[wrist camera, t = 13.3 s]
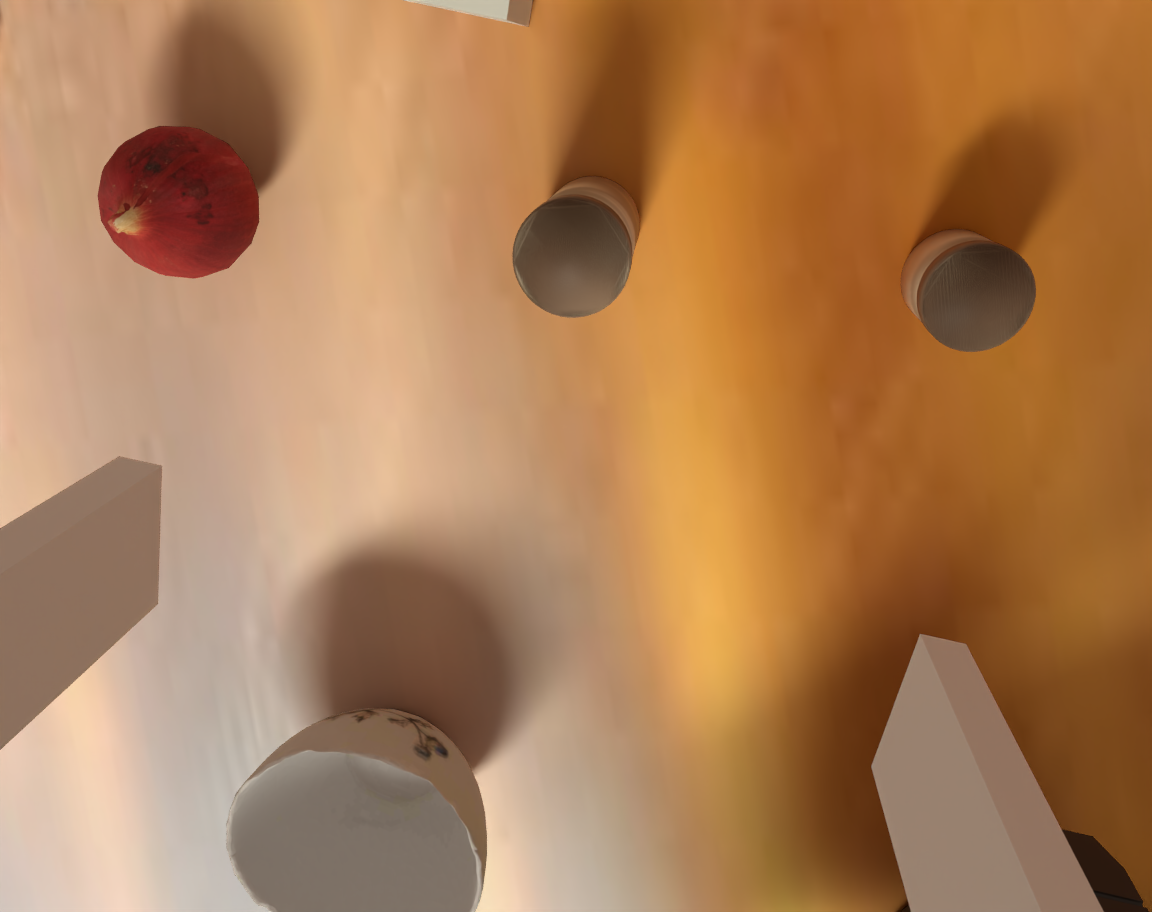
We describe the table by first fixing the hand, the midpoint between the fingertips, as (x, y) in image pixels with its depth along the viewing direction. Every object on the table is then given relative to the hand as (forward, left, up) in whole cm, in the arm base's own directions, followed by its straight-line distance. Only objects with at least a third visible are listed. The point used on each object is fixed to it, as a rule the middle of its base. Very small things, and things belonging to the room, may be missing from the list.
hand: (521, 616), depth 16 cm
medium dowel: (+2, -2, -27) cm, 27 cm away
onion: (+18, 0, -27) cm, 32 cm away
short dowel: (-13, -3, -27) cm, 30 cm away
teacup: (+7, +29, -27) cm, 40 cm away
